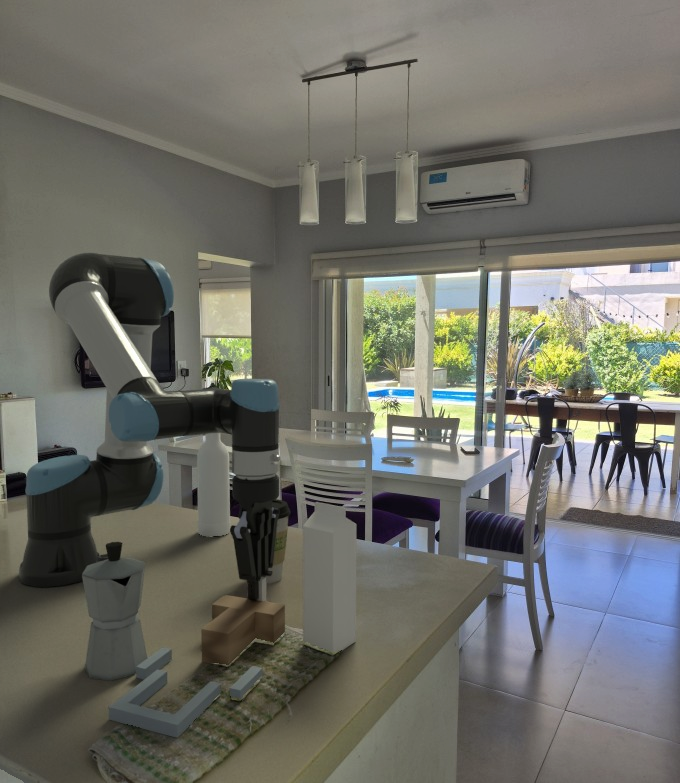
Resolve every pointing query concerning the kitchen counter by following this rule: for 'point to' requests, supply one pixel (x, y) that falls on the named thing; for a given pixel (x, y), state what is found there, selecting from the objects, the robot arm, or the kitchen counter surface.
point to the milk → (329, 578)
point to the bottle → (213, 487)
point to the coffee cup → (279, 541)
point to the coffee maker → (114, 615)
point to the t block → (239, 627)
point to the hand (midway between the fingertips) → (257, 616)
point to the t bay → (155, 679)
